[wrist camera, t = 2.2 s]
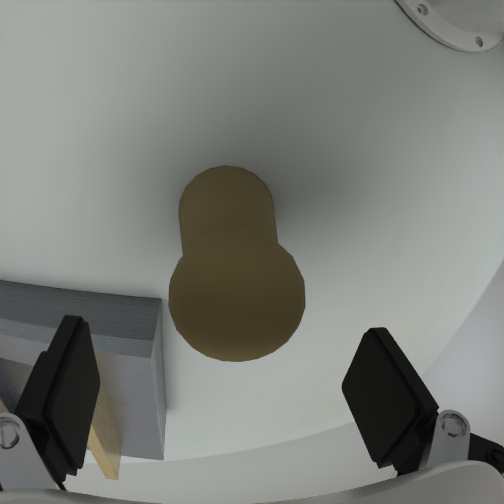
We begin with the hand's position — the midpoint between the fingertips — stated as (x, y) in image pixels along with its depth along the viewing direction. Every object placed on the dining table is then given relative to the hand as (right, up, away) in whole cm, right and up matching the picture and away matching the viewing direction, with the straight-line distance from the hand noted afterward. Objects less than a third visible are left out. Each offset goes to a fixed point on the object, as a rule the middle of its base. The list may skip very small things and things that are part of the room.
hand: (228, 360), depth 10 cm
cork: (-1, +6, +10) cm, 12 cm away
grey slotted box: (-17, -5, +14) cm, 22 cm away
